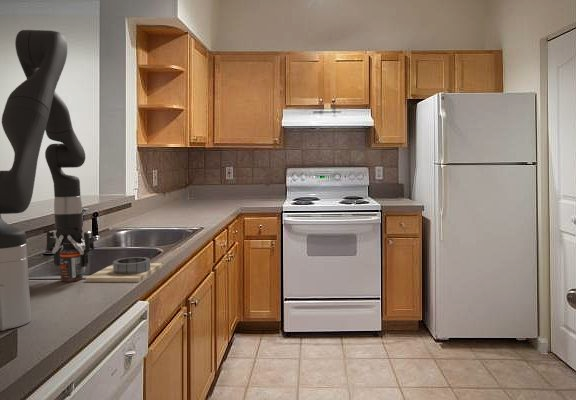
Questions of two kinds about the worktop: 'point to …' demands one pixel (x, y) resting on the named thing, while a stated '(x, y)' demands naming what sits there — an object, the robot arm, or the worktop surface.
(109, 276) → the base board
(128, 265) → the collar
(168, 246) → the worktop surface
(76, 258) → the supplement bottle
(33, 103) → the robot arm
